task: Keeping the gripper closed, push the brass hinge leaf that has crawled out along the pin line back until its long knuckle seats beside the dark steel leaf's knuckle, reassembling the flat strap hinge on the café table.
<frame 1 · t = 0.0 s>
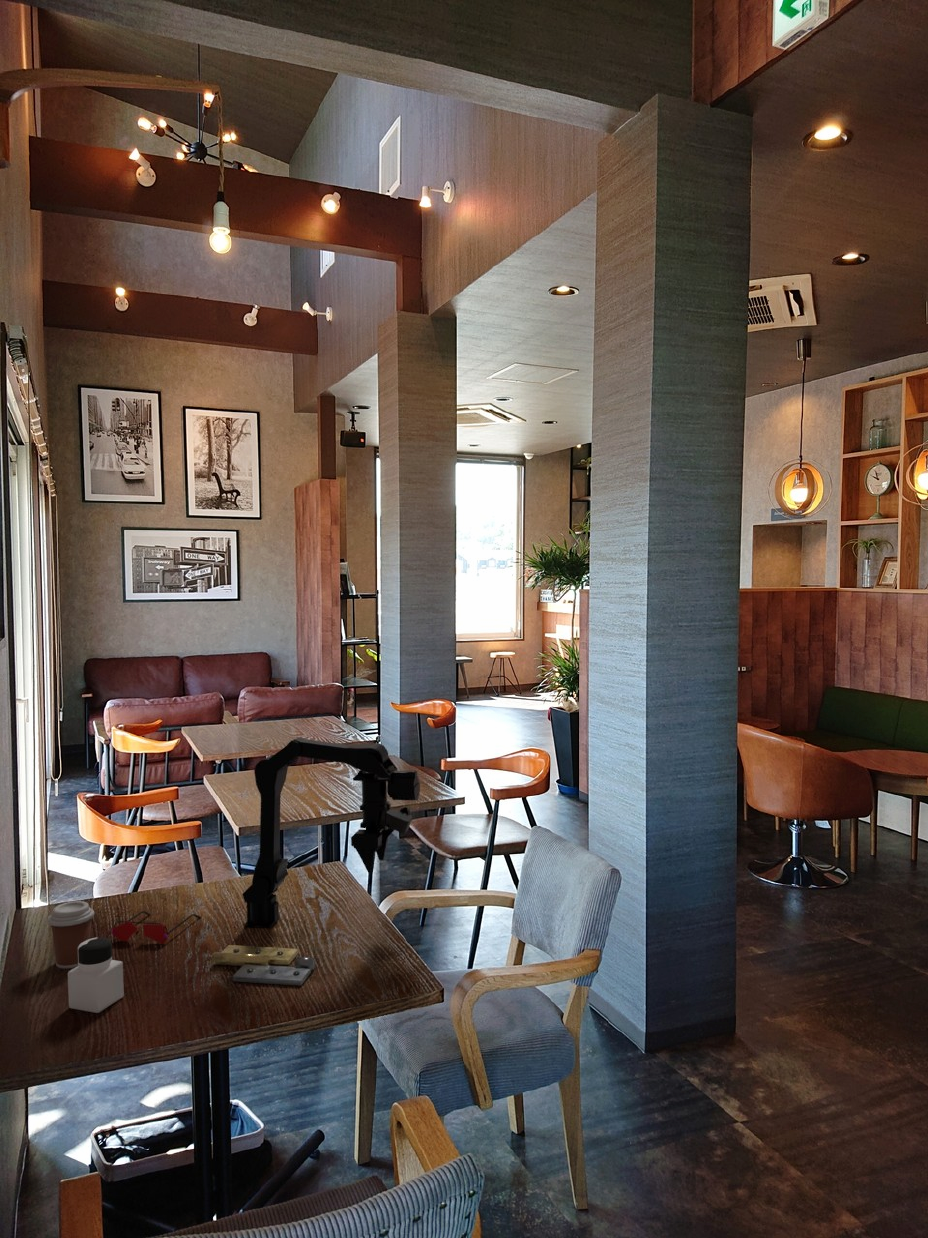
hand: (376, 866, 199), 15 cm above the table, fingers open, 9 cm apart
steel leaf: (276, 968, 180), on the table
brass leaf: (255, 954, 184), point 1 cm above the table, slide at 6.0 cm
coffee cup: (72, 963, 184), on the table
glasses: (157, 932, 202), on the table
medicine bottle: (96, 1003, 166), on the table
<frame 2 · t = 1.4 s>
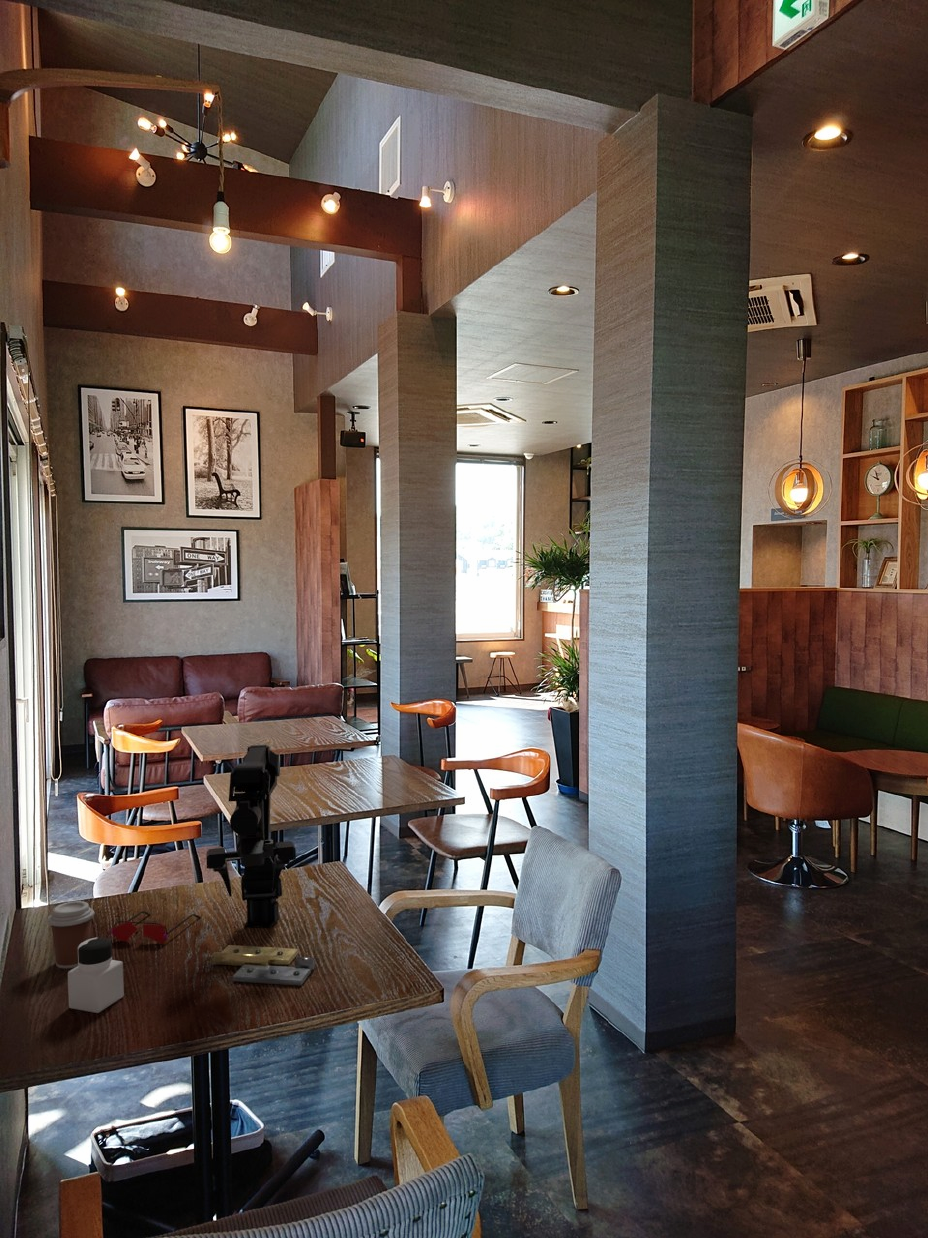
hand: (252, 893, 188), 13 cm above the table, fingers open, 9 cm apart
nothing on the table moved.
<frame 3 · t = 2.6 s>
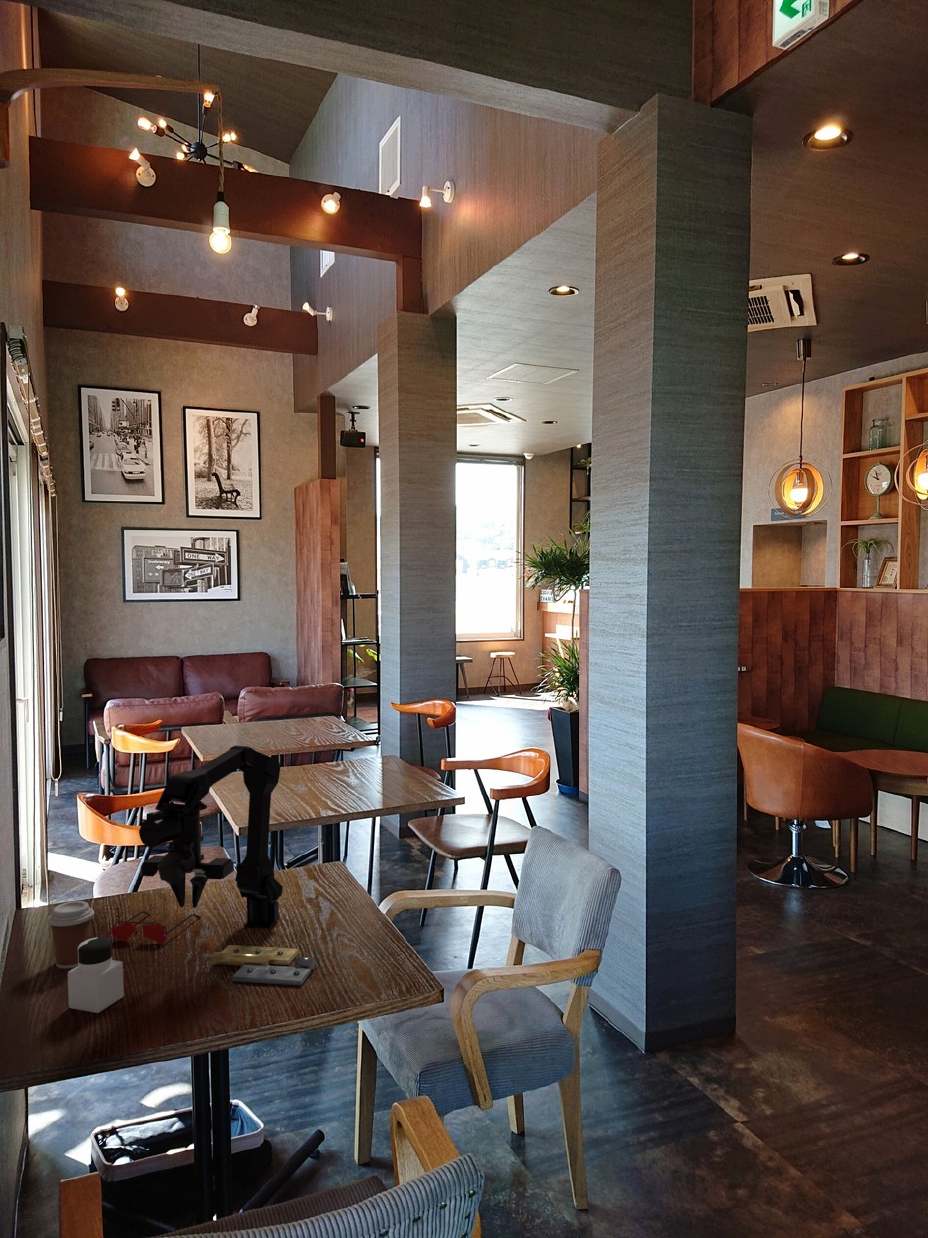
hand: (188, 907, 183), 12 cm above the table, fingers open, 3 cm apart
nothing on the table moved.
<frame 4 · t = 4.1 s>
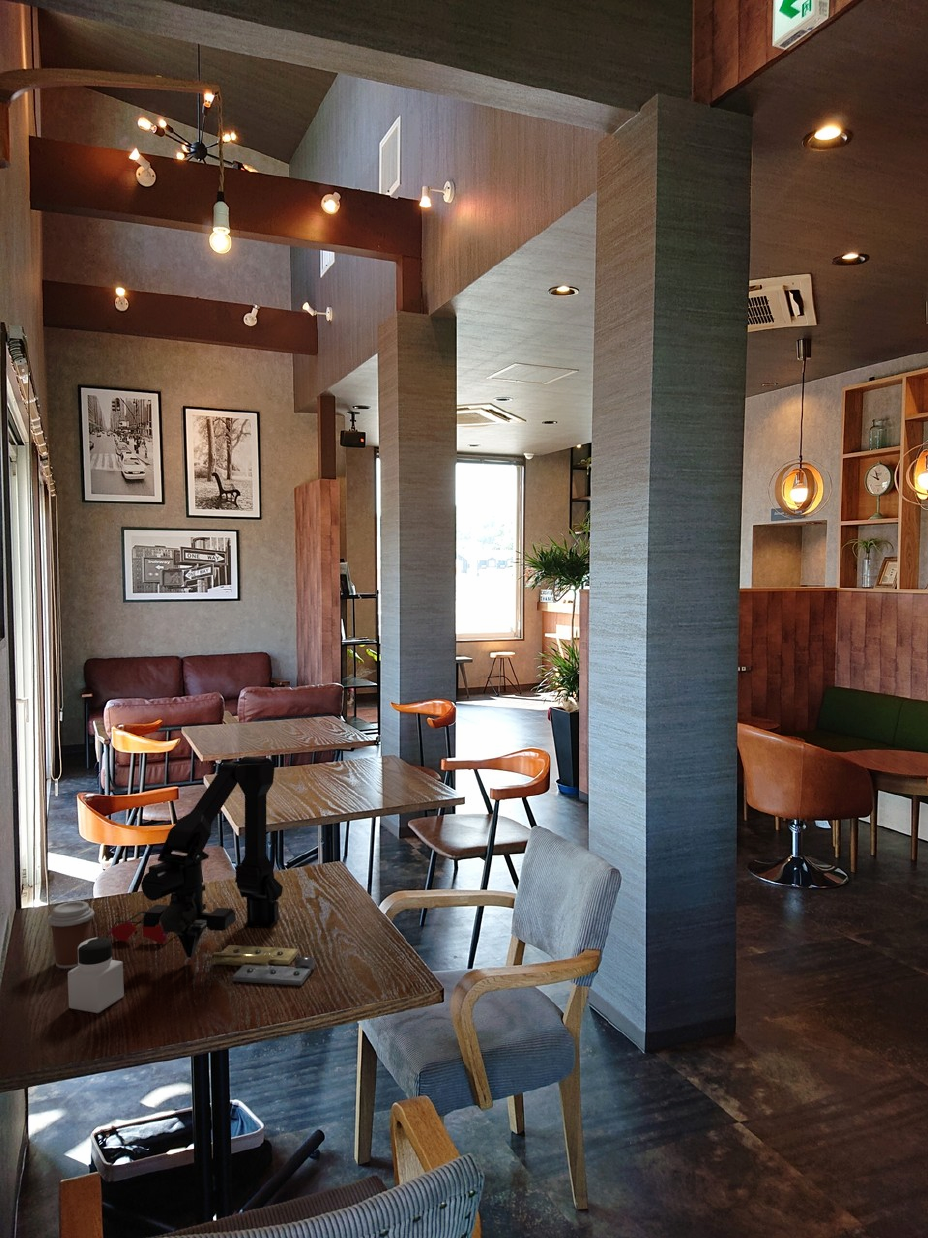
hand: (190, 957, 183), 1 cm above the table, fingers closed
nothing on the table moved.
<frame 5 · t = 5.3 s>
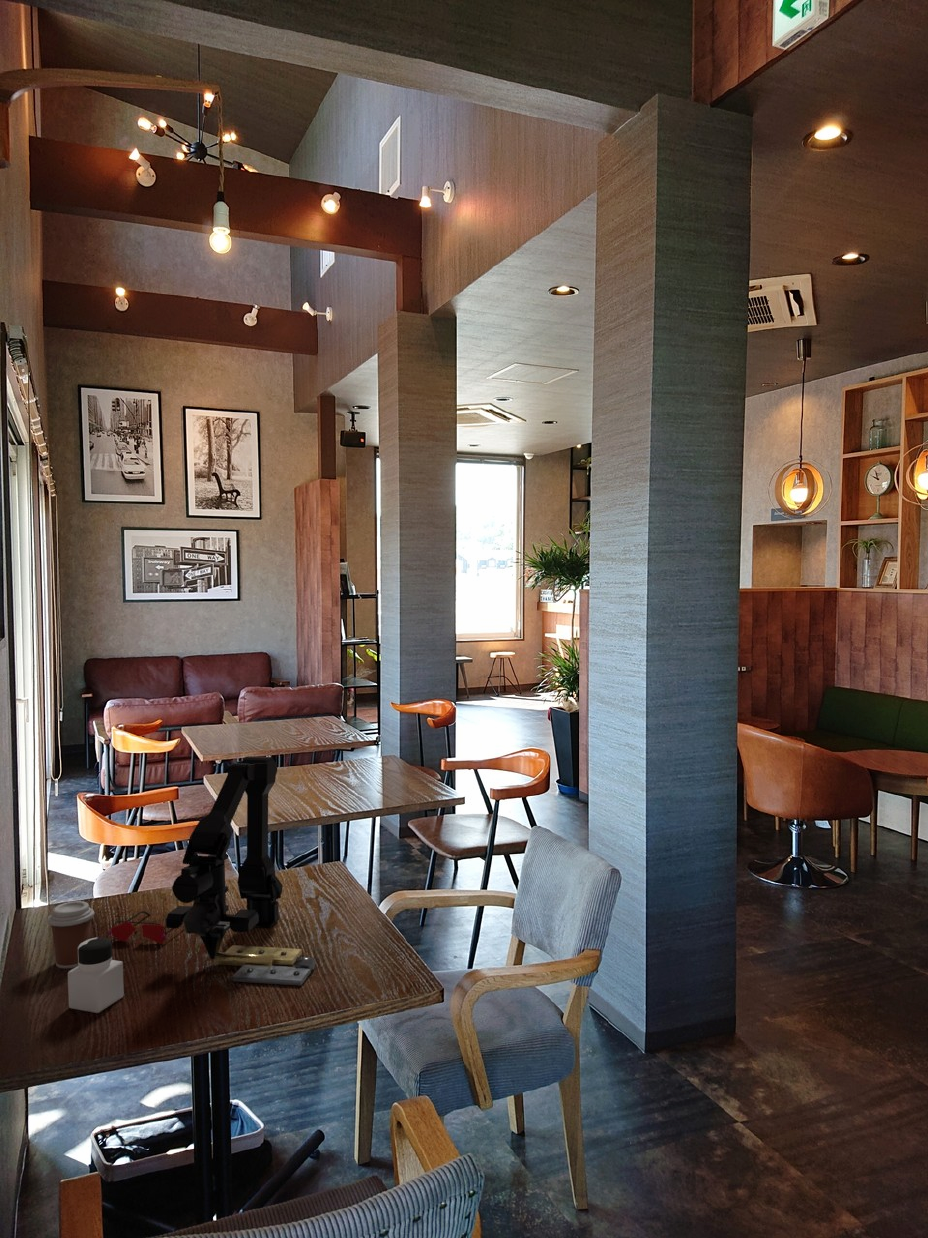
hand: (213, 958, 182), 1 cm above the table, fingers closed
brass leaf: (259, 954, 184), point 1 cm above the table, slide at 5.2 cm, touching gripper
everything else where it was.
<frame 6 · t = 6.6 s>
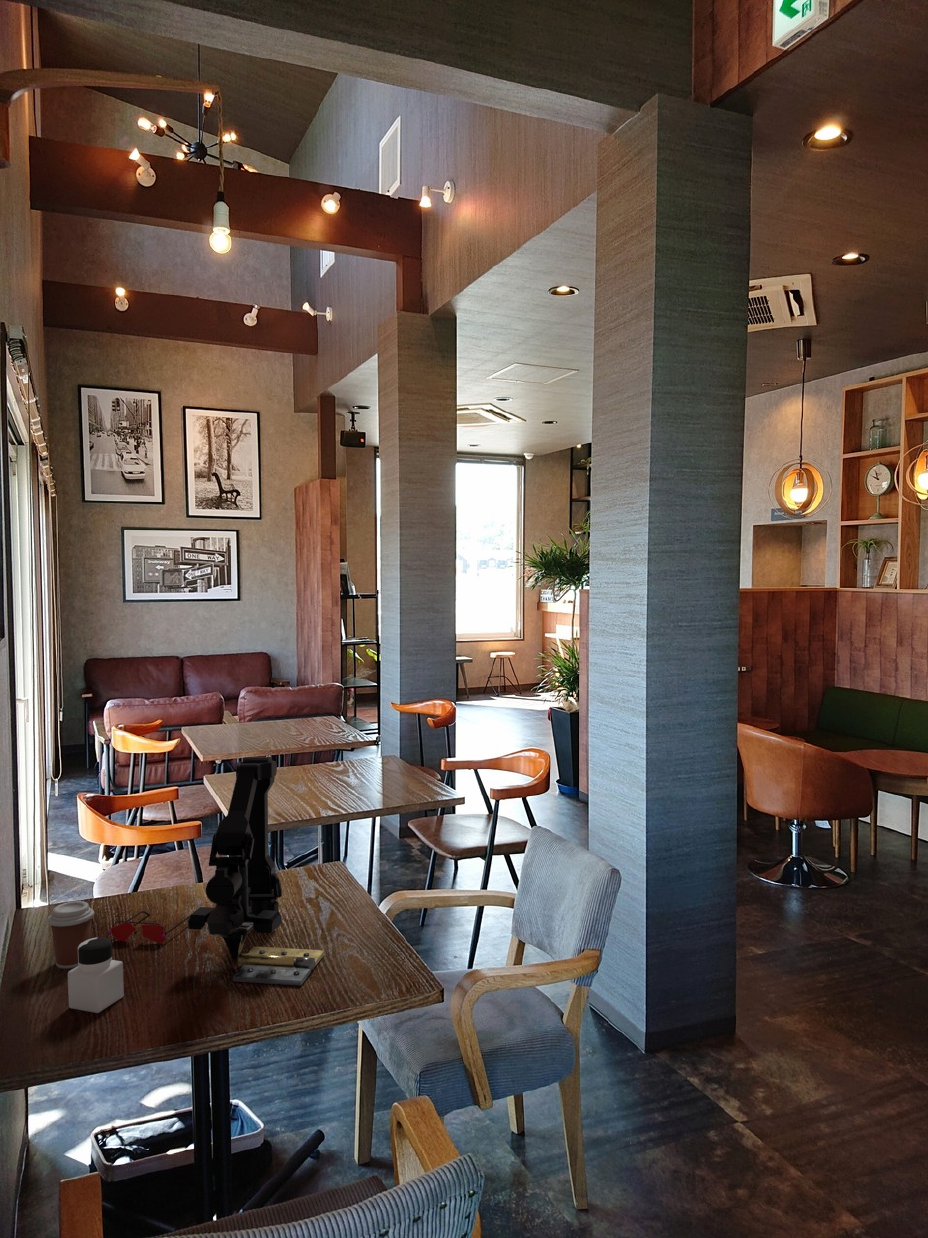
hand: (235, 960, 181), 1 cm above the table, fingers closed
brass leaf: (281, 955, 183), point 1 cm above the table, slide at 0.1 cm, touching gripper
everything else where it was.
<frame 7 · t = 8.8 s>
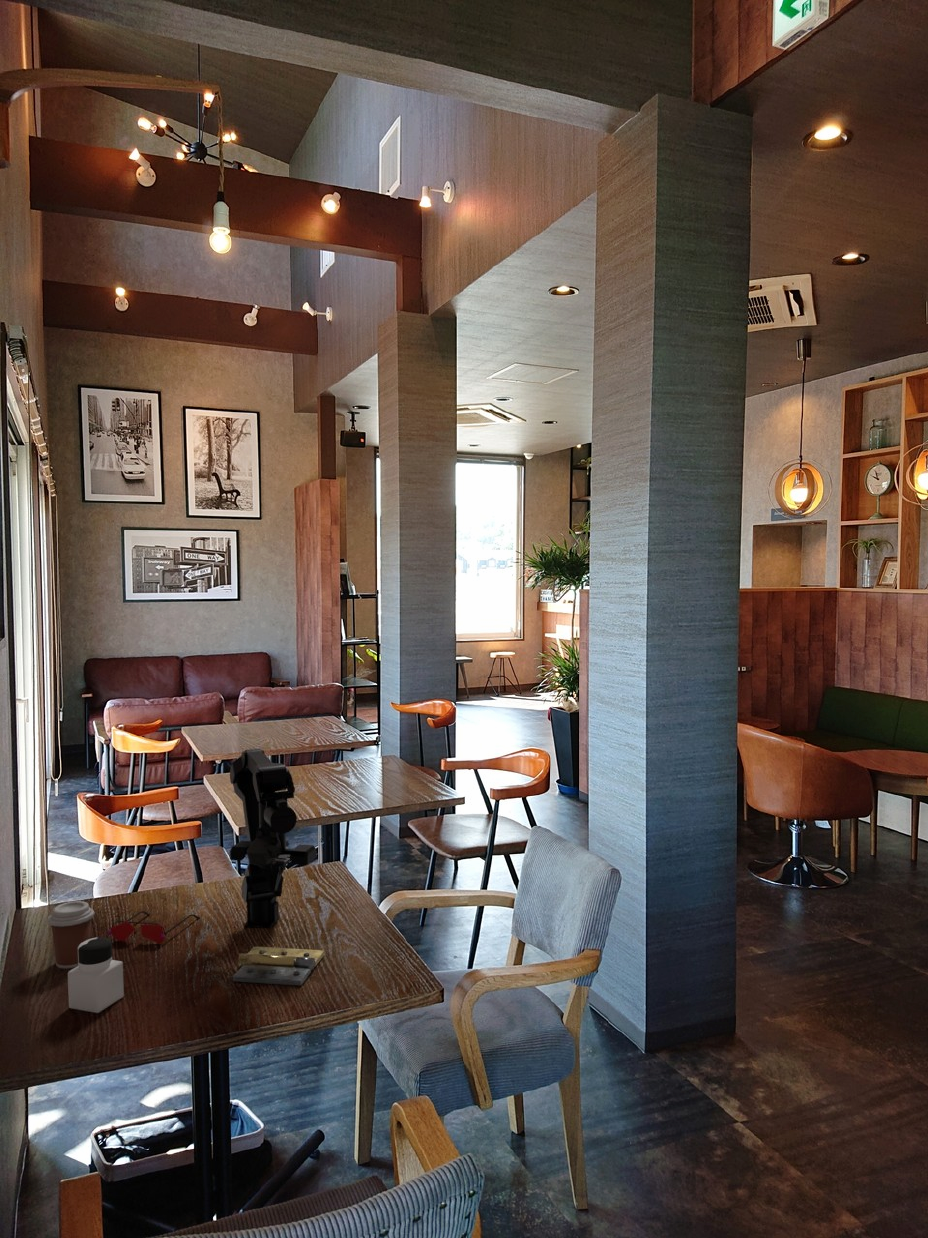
hand: (273, 890, 193), 12 cm above the table, fingers closed
brass leaf: (281, 955, 183), point 1 cm above the table, slide at 0.1 cm
everything else where it was.
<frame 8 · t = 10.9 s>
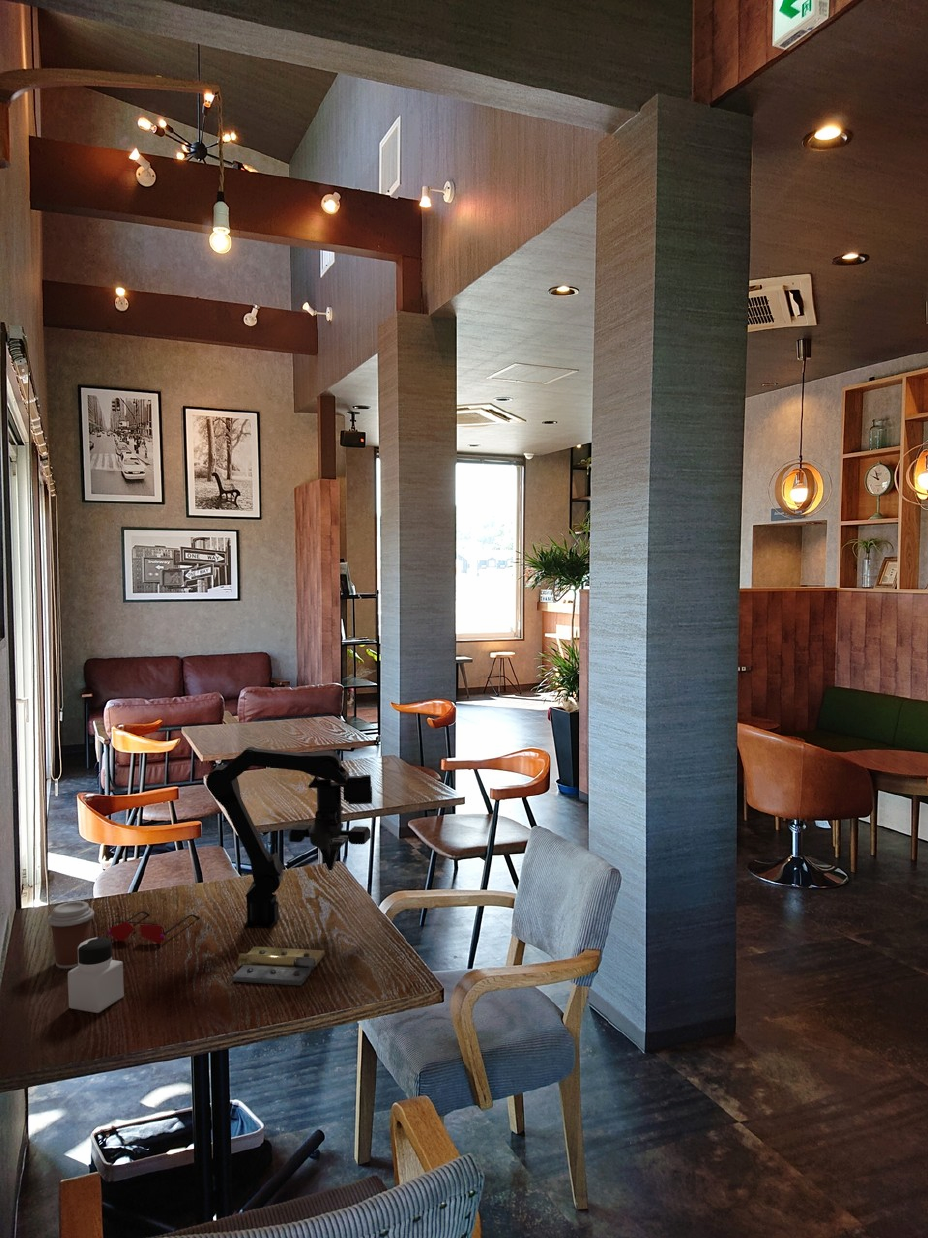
hand: (330, 869, 205), 12 cm above the table, fingers closed
nothing on the table moved.
at the end: brass leaf slide at 0.1 cm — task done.
